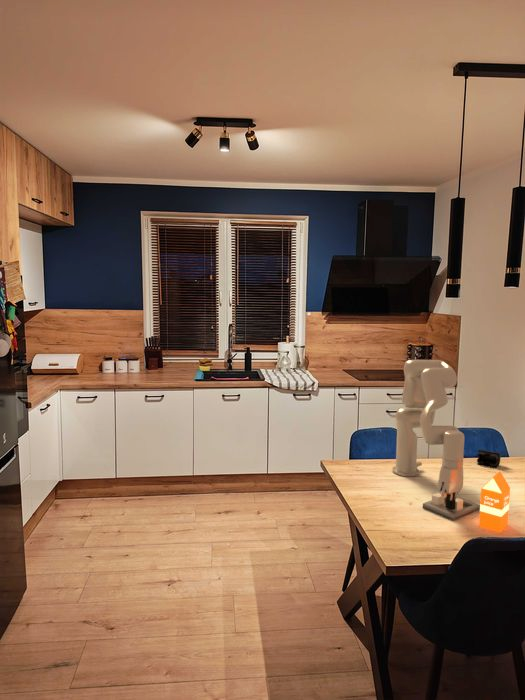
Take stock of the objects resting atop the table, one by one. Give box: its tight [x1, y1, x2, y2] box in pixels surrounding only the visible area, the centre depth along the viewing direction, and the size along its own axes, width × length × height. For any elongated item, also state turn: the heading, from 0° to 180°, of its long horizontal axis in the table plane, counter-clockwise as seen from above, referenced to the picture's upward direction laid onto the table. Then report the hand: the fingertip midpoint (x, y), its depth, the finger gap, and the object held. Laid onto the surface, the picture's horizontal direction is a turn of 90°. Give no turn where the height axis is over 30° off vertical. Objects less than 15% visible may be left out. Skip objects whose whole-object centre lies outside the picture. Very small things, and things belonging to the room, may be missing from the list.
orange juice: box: [478, 471, 511, 533], centre depth 189 cm, size 8×9×20 cm
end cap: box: [476, 449, 502, 469], centre depth 258 cm, size 10×7×7 cm
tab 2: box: [451, 498, 463, 512], centre depth 200 cm, size 4×3×4 cm
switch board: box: [422, 495, 480, 522], centre depth 204 cm, size 18×14×2 cm
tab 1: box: [431, 492, 444, 506], centre depth 205 cm, size 4×3×4 cm
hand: (450, 508), depth 198 cm, fingers closed
